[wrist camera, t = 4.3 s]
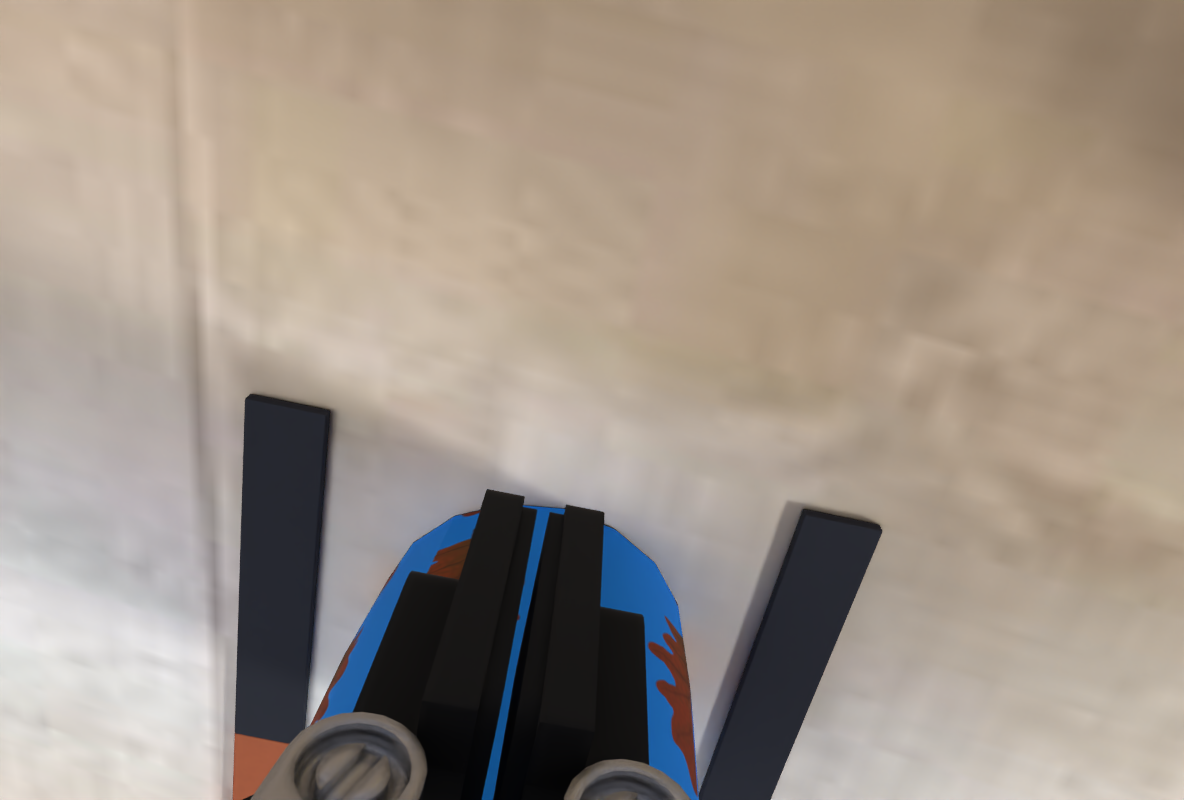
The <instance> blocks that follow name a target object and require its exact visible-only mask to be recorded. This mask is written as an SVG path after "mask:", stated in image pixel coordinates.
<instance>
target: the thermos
mask: <svg viewBox="0 0 1184 800" xmlns="http://www.w3.org/2000/svg"><path fill="white" fill-rule="evenodd" d="M523 507H527V508H532V509H537V516H536V521H535V527H534V532H533V537H532V543H531V548H530V553H529V559H528V564H527V570H526V575H525V580H524V586H523V591H522V596H521V602H520V607H519V612H518V618H517V623H516V629H515V634H514V639H513V645H512V650H511V655H510V661H509V666H508V671H507V677H506V682H505V688H504V693H503V698H502V703H501V708H500V714H499V719H498V724H497V729H496V733H495V738H494V743H493V748H492V753H491V757H490V762H489V767H488V772H487V776H486V781H485V786H484V791H483V795H482V800H493V797H494V791H495V785H496V780H497V774H498V768H499V762H500V757H501V751H502V745H503V739H504V734H505V728H506V722H507V716H508V711H509V705H510V699H511V693H512V688H513V682H514V677H515V672H516V666H517V662H518V657H519V652H520V647H521V643H522V638H523V633H524V629H525V624H526V619H527V615H528V610H529V605H530V601H531V596H532V591H533V587H534V582H535V577H536V573H537V568H538V563H539V559H540V554H541V549H542V545H543V540H544V535H545V531H546V526H547V521H548V517H549V513H550V512H553V513H558V514H563V515H564V512H565V509H560V508H548V507H536V506H524V505H523ZM479 513H480V510H479V511H475V512H471V513H466V514H462V515H458V516H454V517H453V518H451V519H450V520H448V521H446V522H445V523H443V524H442V525H440V526H439V527H437V528H436V529H434V530H432V531H431V532H429V533H428V534H426V535H425V536H423V537H422V538H420V539H418V540H417V541H415V542H414V543H413V544H412V545H411V547H410V548H409V550H408V551H407V553H406V554H405V555H404V557H403V558H402V560H401V561H400V563H399V564H398V566H397V567H396V569H395V570H394V572H393V573H392V574H391V576H390V577H389V579H388V580H387V582H386V584H385V586H384V587H383V589H382V591H381V593H380V594H379V596H378V598H377V599H376V601H375V603H374V605H373V606H372V608H371V610H370V612H369V613H368V615H367V617H366V619H365V620H364V622H363V624H362V625H361V627H360V629H359V631H358V632H357V634H356V636H355V638H354V639H353V641H352V643H351V644H350V646H349V648H348V650H347V651H346V653H345V655H344V657H343V659H342V661H341V663H340V665H339V667H338V669H337V671H336V673H335V675H334V677H333V679H332V682H331V684H330V686H329V688H328V690H327V692H326V694H325V696H324V698H323V700H322V702H321V704H320V706H319V708H318V710H317V713H316V715H315V717H314V719H313V721H312V723H311V725H312V724H314V723H316V722H317V721H319V720H321V719H325V718H328V717H331V716H334V715H338V714H341V713H352V712H353V710H354V707H355V705H356V702H357V700H358V697H359V695H360V692H361V690H362V687H363V685H364V682H365V680H366V678H367V675H368V673H369V670H370V668H371V665H372V663H373V660H374V658H375V655H376V653H377V650H378V648H379V645H380V643H381V641H382V638H383V636H384V633H385V631H386V628H387V626H388V623H389V621H390V618H391V616H392V613H393V611H394V608H395V606H396V603H397V601H398V599H399V596H400V594H401V591H402V589H403V586H404V584H405V581H406V579H407V577H408V575H409V573H410V572H411V571H417V572H422V573H427V574H433V575H438V576H443V577H448V578H454V579H459V578H460V575H461V572H462V568H463V565H464V562H465V559H466V555H467V552H468V549H469V546H470V542H471V539H472V536H473V533H474V529H475V526H476V523H477V520H478V516H479ZM600 606H601V607H606V608H611V609H617V610H622V611H627V612H632V613H638V614H642V615H643V617H644V624H645V652H646V682H647V713H648V744H649V766H651V767H653V768H656V769H658V770H660V771H662V772H664V773H665V774H666V775H667V776H669V777H670V778H671V779H673V780H674V781H675V782H676V783H678V784H679V785H680V786H681V788H682V789H683V790H684V791H685V793H686V794H687V795H688V796H689V798H690V799H691V800H699V795H698V781H697V767H696V754H695V740H694V727H693V716H692V704H691V692H690V683H689V676H688V670H687V663H686V656H685V649H684V643H683V636H682V629H681V622H680V616H679V609H678V604H677V602H676V600H675V598H674V597H673V595H672V593H671V591H670V589H669V588H668V586H667V584H666V582H665V580H664V578H663V577H662V575H661V573H660V571H659V569H658V568H657V566H656V564H655V563H654V562H653V561H652V560H651V559H649V558H648V557H647V556H646V555H645V554H644V553H642V552H641V551H640V550H639V549H638V548H636V547H635V546H634V545H633V544H632V543H631V542H629V541H628V540H627V539H626V538H625V537H623V536H622V535H621V534H620V533H619V532H618V531H616V530H615V529H613V528H610V527H608V526H605V525H604V535H603V558H602V580H601V603H600ZM311 725H310V726H311Z"/></svg>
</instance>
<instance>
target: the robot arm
mask: <svg viewBox="0 0 1184 800" xmlns="http://www.w3.org/2000/svg"><path fill="white" fill-rule="evenodd" d="M524 498H525V497H524V496H519V495H514V494H509V493H504V492H499V491H494V490H489V489H487V491H486V494H485V497H484V500H483V503H482V507H481V510H480V513H479V516H478V520H477V523H476V526H475V529H474V533H473V536H472V539H471V542H470V546H469V549H468V552H467V555H466V559H465V562H464V565H463V568H462V572H461V575H460V578H459V579H454V578H448V577H443V576H438V575H433V574H427V573H422V572H417V571H411V572H410V573H409V575H408V577H407V579H406V581H405V584H404V586H403V589H402V591H401V594H400V596H399V599H398V601H397V603H396V606H395V608H394V611H393V613H392V616H391V618H390V621H389V623H388V626H387V628H386V631H385V633H384V636H383V638H382V641H381V643H380V645H379V648H378V650H377V653H376V655H375V658H374V660H373V663H372V665H371V668H370V670H369V673H368V675H367V678H366V680H365V682H364V685H363V687H362V690H361V692H360V695H359V697H358V700H357V702H356V705H355V707H354V710H353V712H352V713H341V714H338V715H334V716H331V717H328V718H325V719H321V720H319V721H317V722H316V723H314V724H312V725H311V726H309V727H307V728H306V729H304V730H302V731H301V732H300V733H299V734H298V735H297V736H296V737H295V738H294V739H293V741H292V742H291V743H290V744H289V745H288V746H287V747H286V748H285V750H284V751H283V753H282V754H281V756H280V757H279V759H278V760H277V761H276V763H275V764H274V766H273V767H272V769H271V770H270V772H269V773H268V774H267V776H266V777H265V779H264V780H263V782H262V783H261V785H260V786H259V788H258V789H257V790H256V792H255V793H254V794H253V795H251V796H249V797H247V798H245V799H243V800H482V795H483V791H484V786H485V781H486V776H487V772H488V767H489V762H490V757H491V753H492V748H493V743H494V738H495V733H496V729H497V724H498V719H499V714H500V708H501V703H502V698H503V693H504V688H505V682H506V677H507V671H508V666H509V661H510V655H511V650H512V645H513V639H514V634H515V629H516V623H517V618H518V612H519V607H520V602H521V596H522V591H523V586H524V580H525V575H526V570H527V564H528V559H529V553H530V548H531V543H532V537H533V532H534V527H535V521H536V516H537V509H532V508H527V507H523V503H524ZM603 535H604V512H601V511H596V510H591V509H586V508H581V507H575V506H570V505H566V508H565V512H564V515H563V514H558V513H553V512H550V513H549V517H548V521H547V526H546V531H545V535H544V540H543V545H542V549H541V554H540V559H539V563H538V568H537V573H536V577H535V582H534V587H533V591H532V596H531V601H530V605H529V610H528V615H527V619H526V624H525V629H524V633H523V638H522V643H521V647H520V652H519V657H518V662H517V666H516V672H515V677H514V682H513V688H512V693H511V699H510V705H509V711H508V716H507V722H506V728H505V734H504V739H503V745H502V751H501V757H500V762H499V768H498V774H497V780H496V785H495V791H494V797H493V800H691V799H690V798H689V796H688V795H687V794H686V793H685V791H684V790H683V789H682V788H681V786H680V785H679V784H678V783H676V782H675V781H674V780H673V779H671V778H670V777H669V776H667V775H666V774H665V773H664V772H662V771H660V770H658V769H656V768H653V767H651V766H649V744H648V713H647V682H646V652H645V624H644V617H643V615H642V614H638V613H632V612H627V611H622V610H617V609H611V608H606V607H601V606H600V603H601V580H602V558H603Z"/></svg>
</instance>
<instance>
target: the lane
mask: <svg viewBox="0 0 1184 800" xmlns="http://www.w3.org/2000/svg"><path fill="white" fill-rule="evenodd" d="M329 418H330V411H329V410H325V409H321V408H316V407H311V406H306V405H301V404H297V403H292V402H287V401H282V400H277V399H272V398H268V397H263V396H258V395H253V394H250V395H249V396H248V397H247V398H246V399H245V419H244V452H243V484H242V516H241V549H240V581H239V614H238V646H237V678H236V711H235V743H234V775H233V800H243V799H245V798H247V797H249V796H251V795H253V794H254V793H255V792H256V790H257V789H258V788H259V786H260V785H261V783H262V782H263V780H264V779H265V777H266V776H267V774H268V773H269V772H270V770H271V769H272V767H273V766H274V764H275V763H276V761H277V760H278V759H279V757H280V756H281V754H282V753H283V751H284V750H285V748H286V747H287V746H288V745H289V744H290V743H291V742H292V741H293V739H294V738H295V737H296V736H297V735H298V734H299V733H300V732H301V731H302V730H304V729H305V722H306V709H307V697H308V684H309V671H310V659H311V646H312V633H313V621H314V608H315V595H316V583H317V570H318V557H319V544H320V532H321V519H322V506H323V494H324V481H325V468H326V456H327V443H328V430H329ZM881 534H882V529H881V527H880V525H878V524H874V523H869V522H864V521H859V520H854V519H850V518H845V517H840V516H835V515H830V514H826V513H821V512H816V511H811V510H806V509H803V511H802V513H801V516H800V519H799V521H798V524H797V527H796V530H795V532H794V535H793V538H792V541H791V543H790V546H789V549H788V552H787V554H786V557H785V560H784V563H783V565H782V568H781V571H780V574H779V576H778V579H777V582H776V584H775V587H774V590H773V593H772V595H771V598H770V601H769V604H768V606H767V609H766V612H765V615H764V617H763V620H762V623H761V626H760V628H759V631H758V634H757V637H756V639H755V642H754V645H753V648H752V650H751V653H750V656H749V658H748V661H747V664H746V667H745V669H744V672H743V675H742V678H741V680H740V683H739V686H738V689H737V691H736V694H735V697H734V700H733V702H732V705H731V708H730V711H729V713H728V716H727V719H726V721H725V724H724V727H723V730H722V732H721V735H720V738H719V741H718V743H717V746H716V749H715V752H714V754H713V757H712V760H711V763H710V765H709V768H708V771H707V774H706V776H705V779H704V782H703V784H702V787H701V790H700V793H699V800H770V799H771V797H772V794H773V792H774V790H775V787H776V785H777V782H778V780H779V778H780V775H781V773H782V771H783V768H784V766H785V763H786V761H787V759H788V756H789V754H790V751H791V749H792V747H793V744H794V742H795V739H796V737H797V735H798V732H799V730H800V727H801V725H802V723H803V720H804V718H805V715H806V713H807V711H808V708H809V706H810V704H811V701H812V699H813V696H814V694H815V692H816V689H817V687H818V684H819V682H820V680H821V677H822V675H823V672H824V670H825V668H826V665H827V663H828V660H829V658H830V656H831V653H832V651H833V648H834V646H835V644H836V641H837V639H838V636H839V634H840V632H841V629H842V627H843V625H844V622H845V620H846V617H847V615H848V613H849V610H850V608H851V605H852V603H853V601H854V598H855V596H856V593H857V591H858V589H859V586H860V584H861V581H862V579H863V577H864V574H865V572H866V569H867V567H868V565H869V562H870V560H871V558H872V555H873V553H874V550H875V548H876V546H877V543H878V541H879V538H880V536H881Z"/></svg>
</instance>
